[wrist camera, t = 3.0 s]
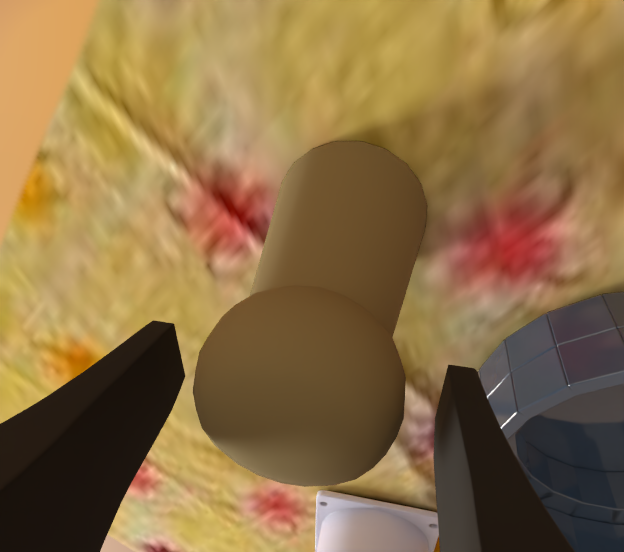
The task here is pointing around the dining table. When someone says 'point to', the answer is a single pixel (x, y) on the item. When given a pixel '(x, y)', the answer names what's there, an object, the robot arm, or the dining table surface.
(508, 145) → the dining table surface
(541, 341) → the bowl
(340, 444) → the cork
